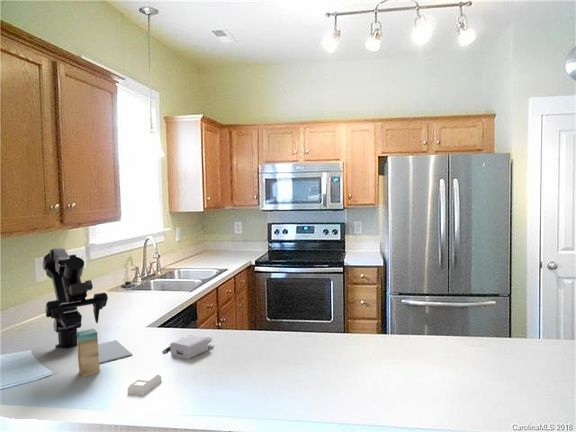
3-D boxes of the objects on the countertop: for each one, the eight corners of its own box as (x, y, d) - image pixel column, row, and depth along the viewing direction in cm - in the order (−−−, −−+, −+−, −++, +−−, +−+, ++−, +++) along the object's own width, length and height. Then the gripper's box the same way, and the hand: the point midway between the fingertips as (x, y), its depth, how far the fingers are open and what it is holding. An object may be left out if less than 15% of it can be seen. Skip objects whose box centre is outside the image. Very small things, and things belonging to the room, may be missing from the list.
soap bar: (161, 382, 124) (160, 373, 124) (143, 396, 115) (142, 387, 115) (146, 380, 125) (146, 372, 125) (127, 394, 117) (127, 385, 117)
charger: (220, 345, 153) (190, 360, 140) (201, 342, 158) (170, 355, 145) (219, 332, 152) (189, 346, 140) (200, 329, 157) (170, 342, 145)
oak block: (79, 372, 133) (76, 331, 133) (95, 367, 136) (93, 328, 136) (82, 376, 129) (79, 335, 129) (99, 372, 132) (97, 331, 132)
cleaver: (177, 336, 164) (188, 335, 162) (178, 340, 164) (189, 338, 162) (153, 351, 148) (165, 350, 146) (153, 355, 148) (166, 354, 146)
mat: (82, 349, 155) (82, 347, 155) (116, 341, 162) (116, 340, 162) (95, 364, 139) (95, 363, 139) (132, 355, 146) (132, 354, 146)
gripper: (44, 277, 136) (52, 318, 128) (104, 269, 148) (115, 306, 140) (42, 296, 143) (49, 337, 135) (100, 287, 155) (110, 324, 147)
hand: (82, 325), depth 139 cm, fingers open, 9 cm apart
